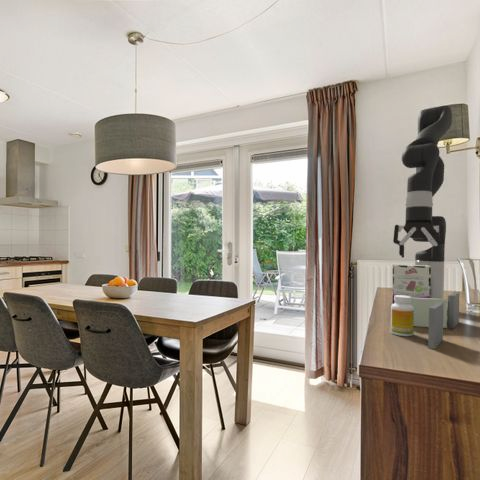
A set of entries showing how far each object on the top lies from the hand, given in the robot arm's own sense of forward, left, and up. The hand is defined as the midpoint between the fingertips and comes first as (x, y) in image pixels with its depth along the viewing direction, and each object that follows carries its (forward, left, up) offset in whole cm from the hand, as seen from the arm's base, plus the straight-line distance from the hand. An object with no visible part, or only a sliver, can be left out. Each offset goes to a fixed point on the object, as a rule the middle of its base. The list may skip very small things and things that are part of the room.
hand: (417, 258), depth 110 cm
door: (+12, +4, -19) cm, 22 cm away
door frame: (+15, +11, -19) cm, 26 cm away
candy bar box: (-3, -2, -19) cm, 19 cm away
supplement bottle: (+24, +2, -19) cm, 31 cm away
